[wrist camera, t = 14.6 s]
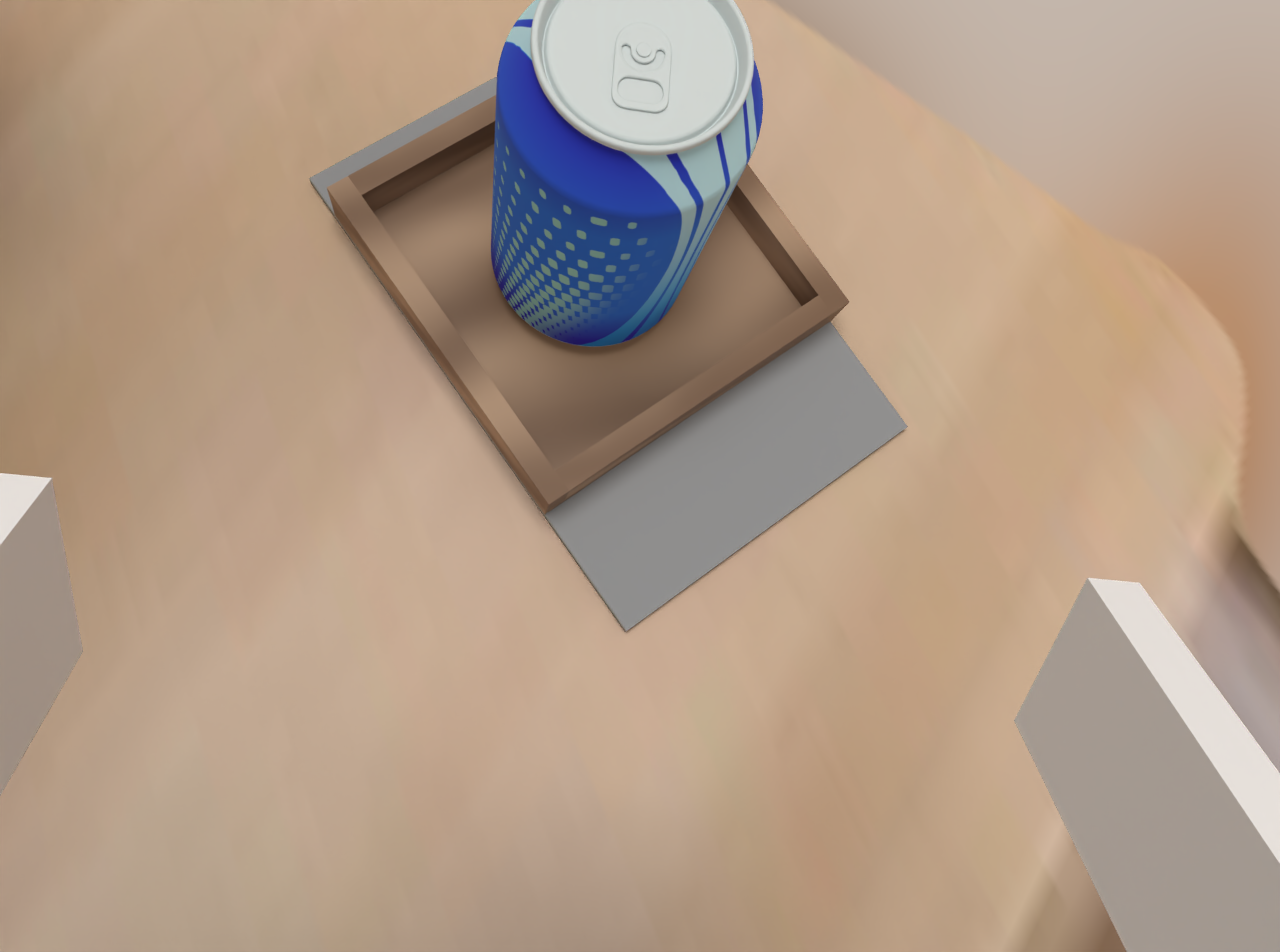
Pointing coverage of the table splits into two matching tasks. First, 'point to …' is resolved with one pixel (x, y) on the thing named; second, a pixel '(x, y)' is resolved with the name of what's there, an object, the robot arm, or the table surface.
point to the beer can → (616, 157)
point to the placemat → (699, 451)
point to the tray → (560, 372)
